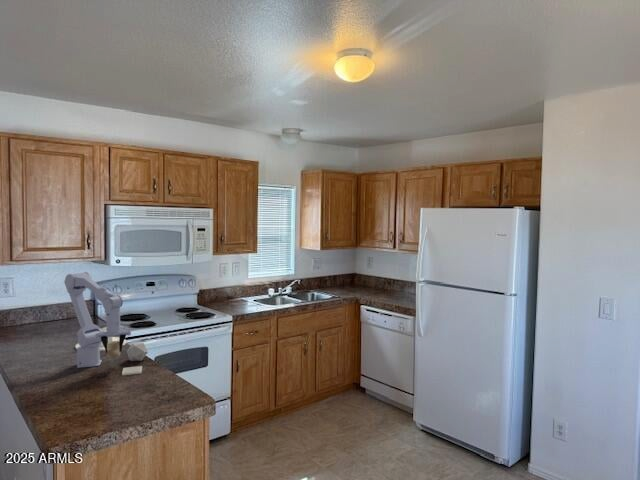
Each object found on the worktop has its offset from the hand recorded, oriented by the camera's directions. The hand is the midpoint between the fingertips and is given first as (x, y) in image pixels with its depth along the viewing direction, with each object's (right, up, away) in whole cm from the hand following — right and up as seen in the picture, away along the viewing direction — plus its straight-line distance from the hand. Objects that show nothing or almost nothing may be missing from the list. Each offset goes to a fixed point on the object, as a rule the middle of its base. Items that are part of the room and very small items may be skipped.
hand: (113, 351), depth 204 cm
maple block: (0, -2, 0) cm, 2 cm away
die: (+5, -8, +14) cm, 17 cm away
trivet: (+10, -8, -3) cm, 13 cm away
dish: (-25, -7, +39) cm, 47 cm away
